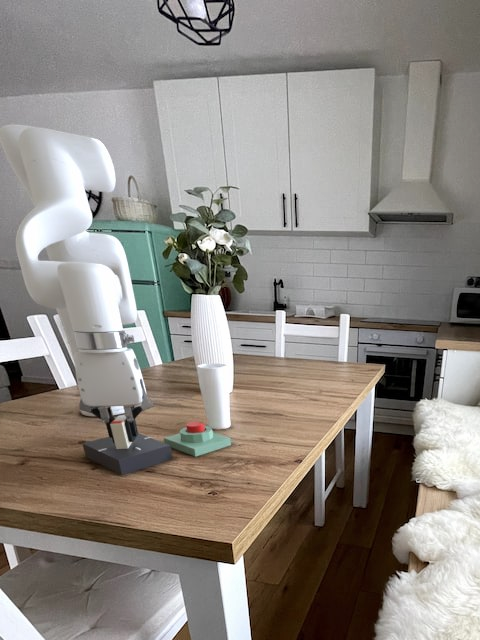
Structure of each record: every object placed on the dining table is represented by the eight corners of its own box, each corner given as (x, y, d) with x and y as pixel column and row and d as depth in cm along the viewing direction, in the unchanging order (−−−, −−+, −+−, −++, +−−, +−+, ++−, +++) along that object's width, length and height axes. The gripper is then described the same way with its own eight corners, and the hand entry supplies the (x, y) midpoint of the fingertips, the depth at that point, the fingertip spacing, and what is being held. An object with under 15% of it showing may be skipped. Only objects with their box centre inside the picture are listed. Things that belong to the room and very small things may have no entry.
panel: (85, 457, 79) (81, 442, 77) (136, 443, 86) (133, 430, 85) (121, 475, 72) (117, 459, 70) (173, 458, 79) (170, 444, 78)
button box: (165, 445, 86) (162, 429, 85) (200, 434, 93) (198, 420, 91) (195, 456, 81) (192, 440, 79) (231, 444, 87) (229, 429, 86)
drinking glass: (225, 432, 95) (217, 368, 89) (199, 429, 96) (190, 367, 90) (238, 424, 101) (232, 364, 95) (214, 422, 102) (206, 362, 96)
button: (183, 432, 85) (182, 424, 84) (198, 428, 88) (197, 420, 87) (194, 435, 83) (192, 427, 82) (208, 431, 86) (207, 423, 85)
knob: (124, 439, 80) (118, 414, 78) (135, 438, 81) (129, 413, 78) (116, 449, 75) (109, 422, 73) (128, 448, 75) (121, 422, 73)
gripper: (154, 339, 75) (171, 432, 83) (58, 339, 71) (85, 436, 79) (146, 344, 68) (165, 444, 76) (39, 344, 64) (71, 449, 72)
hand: (125, 439), depth 77 cm, fingers closed on knob, 2 cm apart
